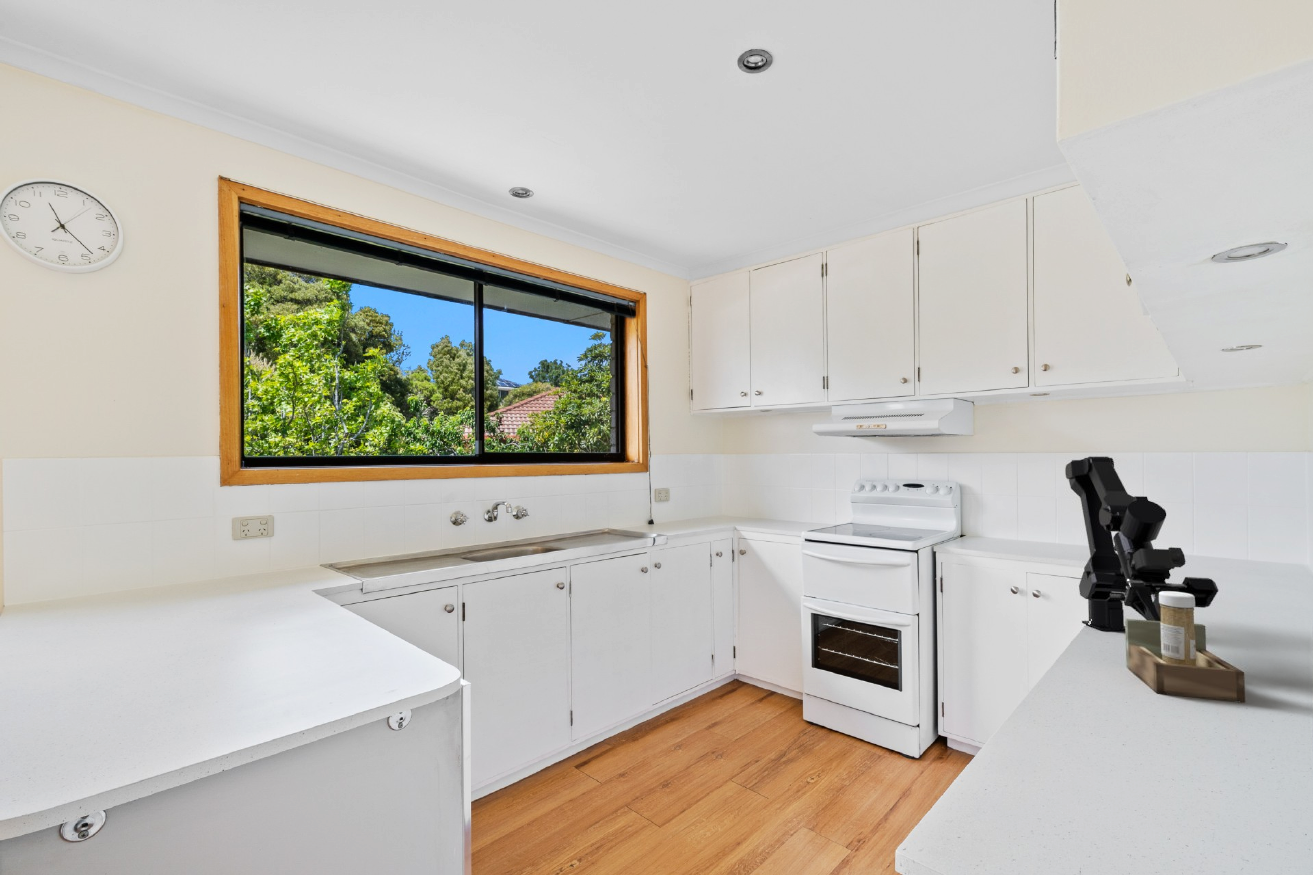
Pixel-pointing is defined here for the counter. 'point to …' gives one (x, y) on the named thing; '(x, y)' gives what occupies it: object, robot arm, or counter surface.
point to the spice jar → (1177, 628)
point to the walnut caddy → (1188, 677)
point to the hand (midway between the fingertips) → (1162, 631)
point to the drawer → (1150, 640)
